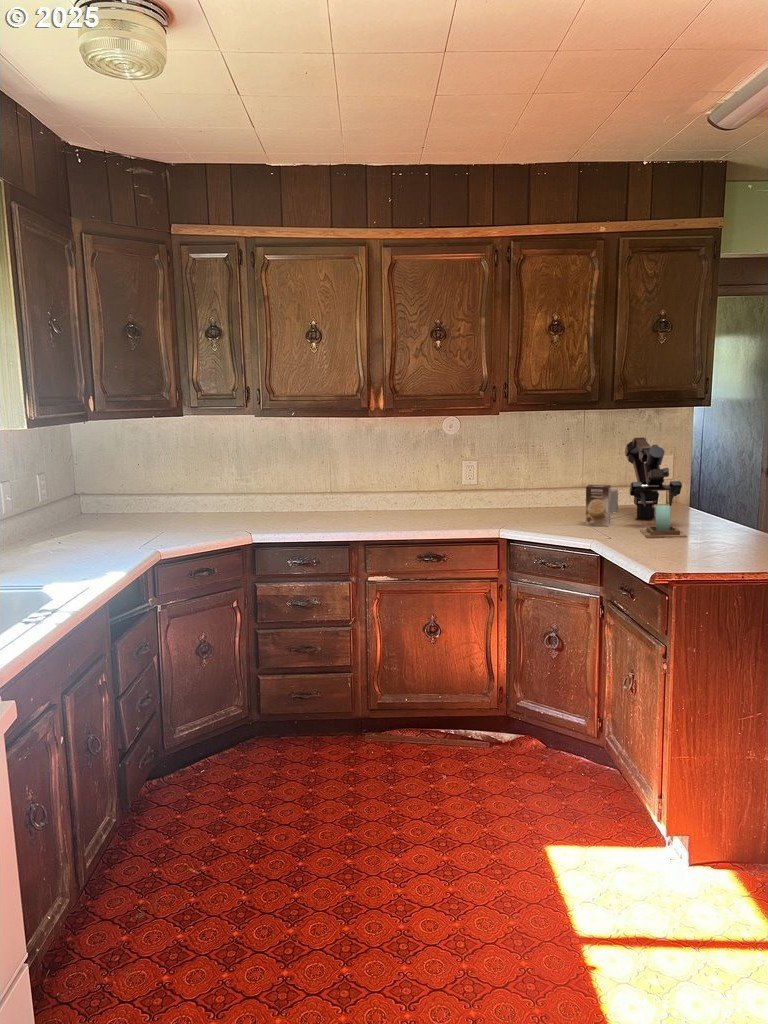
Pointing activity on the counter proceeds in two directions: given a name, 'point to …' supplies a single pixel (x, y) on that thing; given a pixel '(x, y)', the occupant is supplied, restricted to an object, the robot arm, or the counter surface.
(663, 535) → the cradle board
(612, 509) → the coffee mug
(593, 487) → the coffee box
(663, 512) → the green dome-top cylinder
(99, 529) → the counter surface
